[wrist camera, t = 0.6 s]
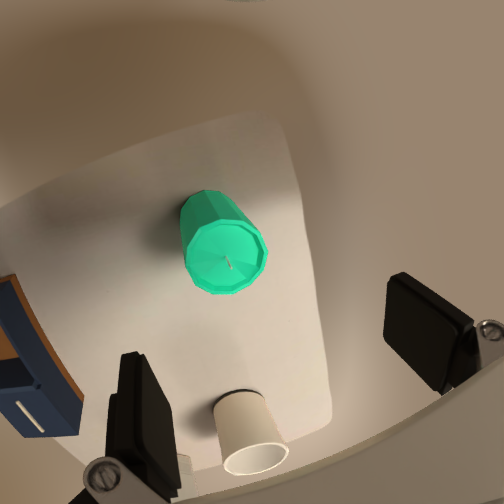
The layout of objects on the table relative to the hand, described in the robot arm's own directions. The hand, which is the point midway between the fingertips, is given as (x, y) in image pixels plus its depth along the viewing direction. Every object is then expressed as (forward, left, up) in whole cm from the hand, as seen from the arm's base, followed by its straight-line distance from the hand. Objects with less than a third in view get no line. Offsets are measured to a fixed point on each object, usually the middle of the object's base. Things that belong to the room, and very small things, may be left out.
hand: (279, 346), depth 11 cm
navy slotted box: (+12, -28, -23) cm, 38 cm away
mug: (+32, -3, -23) cm, 39 cm away
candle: (+2, 0, -23) cm, 23 cm away
